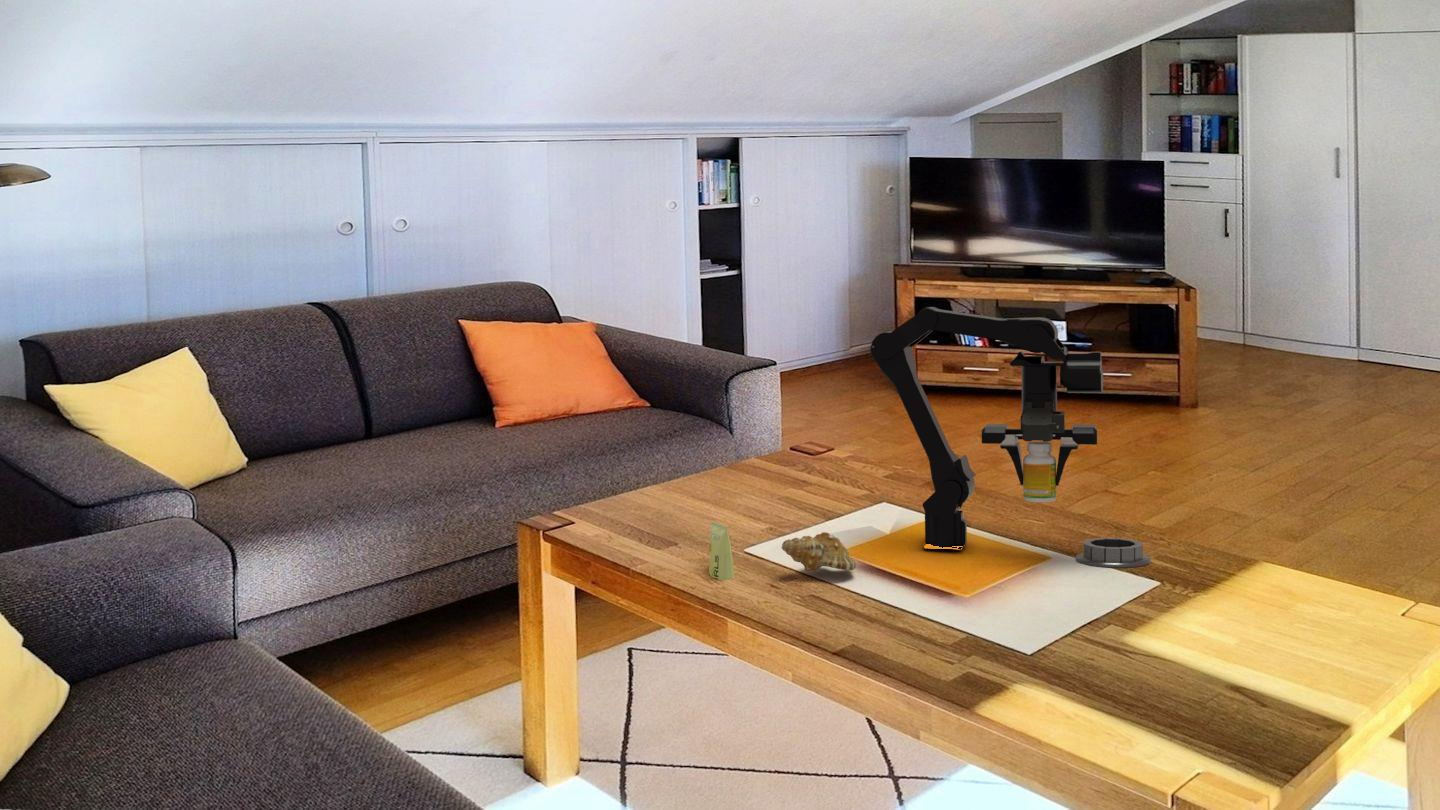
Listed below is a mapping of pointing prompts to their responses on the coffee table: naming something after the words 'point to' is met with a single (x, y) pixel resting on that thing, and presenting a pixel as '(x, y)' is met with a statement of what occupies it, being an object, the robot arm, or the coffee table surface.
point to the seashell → (819, 552)
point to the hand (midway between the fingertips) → (1039, 485)
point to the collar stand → (1113, 553)
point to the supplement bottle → (1039, 473)
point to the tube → (720, 553)
